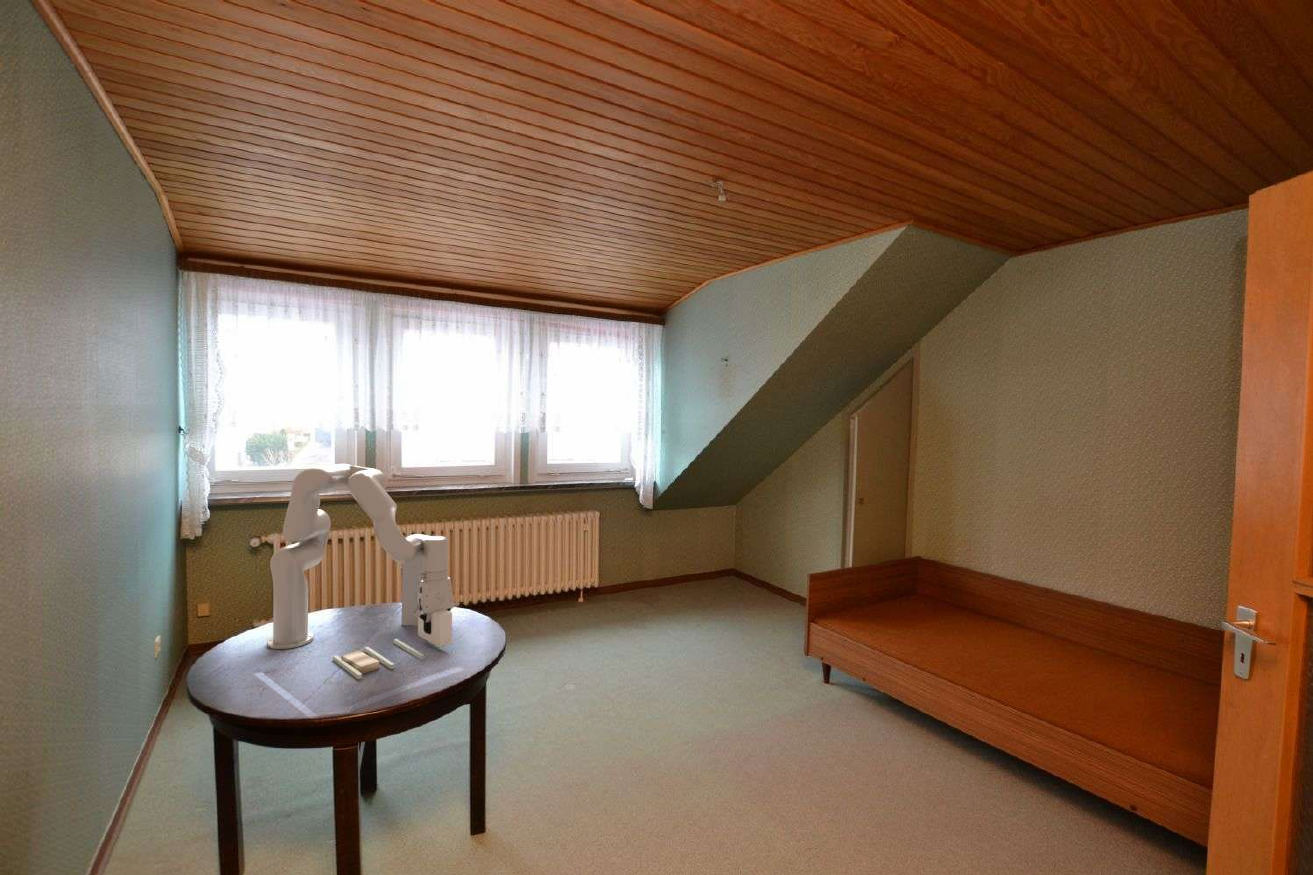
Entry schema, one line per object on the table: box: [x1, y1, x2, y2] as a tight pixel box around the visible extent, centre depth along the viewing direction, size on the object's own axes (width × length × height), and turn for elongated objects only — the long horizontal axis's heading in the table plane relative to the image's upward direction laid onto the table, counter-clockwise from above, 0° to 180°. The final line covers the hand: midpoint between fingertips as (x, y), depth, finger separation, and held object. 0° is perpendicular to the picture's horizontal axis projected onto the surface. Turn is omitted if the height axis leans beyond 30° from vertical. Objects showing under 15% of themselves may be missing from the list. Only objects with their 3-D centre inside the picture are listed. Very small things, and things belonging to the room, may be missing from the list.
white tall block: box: [400, 556, 423, 627], centre depth 204 cm, size 14×6×30 cm, turn 84°
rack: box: [332, 638, 425, 680], centre depth 170 cm, size 18×19×2 cm
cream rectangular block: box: [417, 609, 453, 648], centre depth 183 cm, size 14×4×10 cm, turn 49°
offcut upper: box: [341, 649, 380, 675], centre depth 166 cm, size 12×5×2 cm, turn 54°
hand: (434, 630), depth 184 cm, fingers closed on cream rectangular block, 4 cm apart
